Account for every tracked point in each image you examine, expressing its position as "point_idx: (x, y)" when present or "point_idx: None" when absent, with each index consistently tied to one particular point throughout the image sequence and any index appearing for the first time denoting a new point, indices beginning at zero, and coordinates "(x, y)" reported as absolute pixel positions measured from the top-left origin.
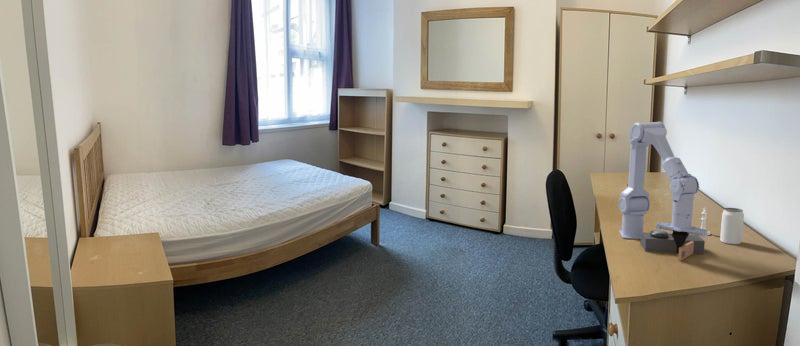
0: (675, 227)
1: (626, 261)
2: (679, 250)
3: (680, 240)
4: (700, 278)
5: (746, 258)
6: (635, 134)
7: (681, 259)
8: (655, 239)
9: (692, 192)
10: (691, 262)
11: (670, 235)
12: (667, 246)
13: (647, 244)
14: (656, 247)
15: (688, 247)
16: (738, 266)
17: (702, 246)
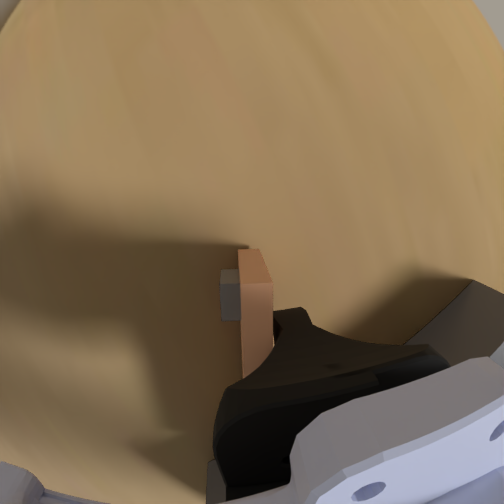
0: (498, 477)
1: (455, 28)
2: (261, 272)
3: (289, 362)
4: (38, 44)
5: (78, 482)
6: None
7: (238, 264)
8: (488, 354)
9: None
10: (175, 289)
11: None
12: None
13: (495, 302)
14: (445, 334)
15: None
16: (18, 385)
17: (213, 493)
